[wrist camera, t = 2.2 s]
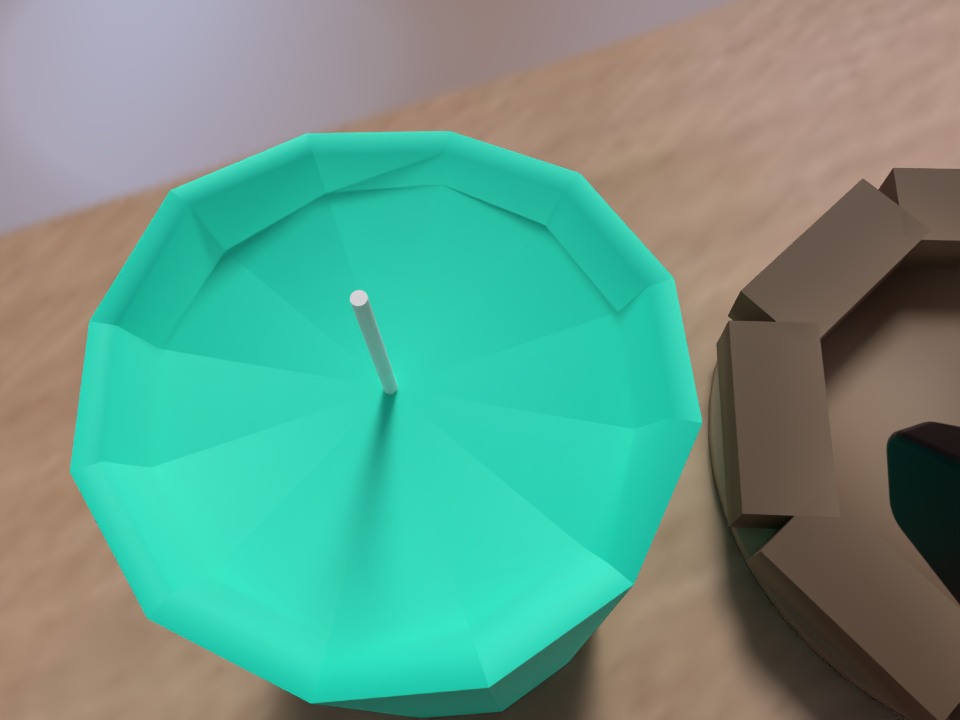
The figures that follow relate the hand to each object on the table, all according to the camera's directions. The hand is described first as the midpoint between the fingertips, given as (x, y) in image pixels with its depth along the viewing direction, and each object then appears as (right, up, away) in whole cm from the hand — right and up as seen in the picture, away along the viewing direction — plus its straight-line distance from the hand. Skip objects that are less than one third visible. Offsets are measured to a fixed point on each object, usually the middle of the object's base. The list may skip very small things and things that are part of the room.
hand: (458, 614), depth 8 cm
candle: (0, -2, +10) cm, 10 cm away
